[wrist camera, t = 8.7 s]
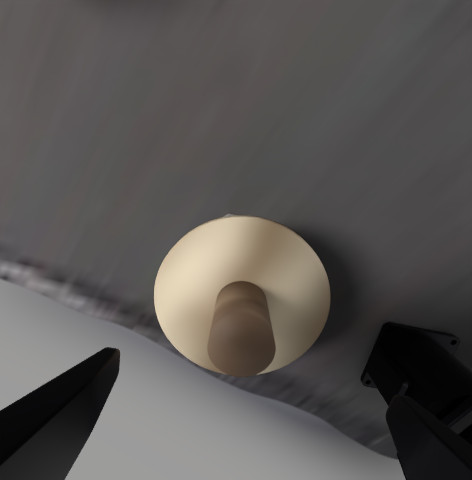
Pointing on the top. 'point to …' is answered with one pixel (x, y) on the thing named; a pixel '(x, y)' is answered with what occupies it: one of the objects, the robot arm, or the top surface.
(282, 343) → the lid
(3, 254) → the top surface
